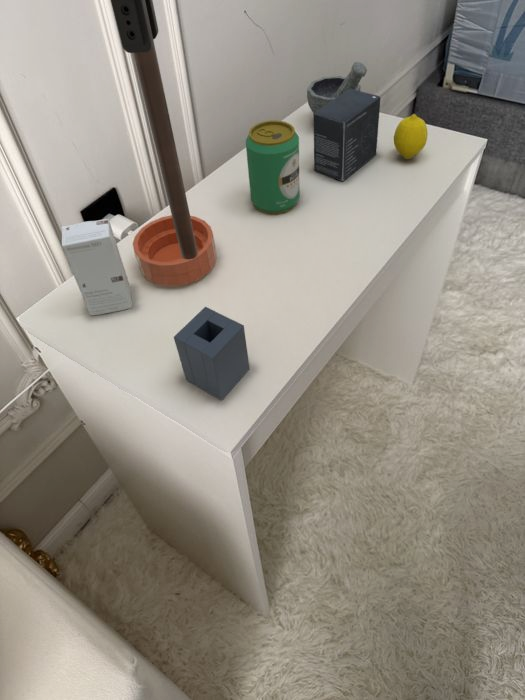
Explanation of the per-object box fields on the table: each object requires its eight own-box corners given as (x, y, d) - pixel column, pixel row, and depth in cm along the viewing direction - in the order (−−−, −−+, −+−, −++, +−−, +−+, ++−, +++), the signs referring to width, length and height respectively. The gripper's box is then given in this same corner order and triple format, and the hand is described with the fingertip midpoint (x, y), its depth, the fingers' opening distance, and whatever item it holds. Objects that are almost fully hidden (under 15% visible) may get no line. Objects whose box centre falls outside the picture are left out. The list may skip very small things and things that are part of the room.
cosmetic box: (90, 317, 72) (58, 247, 62) (89, 295, 75) (59, 225, 65) (135, 308, 72) (109, 237, 63) (132, 286, 75) (108, 216, 66)
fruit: (424, 151, 94) (432, 106, 87) (421, 167, 90) (430, 122, 84) (393, 148, 95) (399, 104, 89) (389, 164, 91) (395, 120, 85)
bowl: (133, 289, 75) (125, 265, 71) (148, 239, 82) (141, 215, 79) (212, 288, 74) (207, 264, 70) (220, 237, 81) (216, 213, 78)
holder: (185, 380, 64) (173, 336, 58) (214, 350, 66) (205, 306, 60) (221, 401, 61) (212, 358, 55) (249, 369, 64) (244, 325, 58)
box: (346, 144, 97) (350, 86, 89) (377, 155, 94) (383, 96, 86) (311, 170, 92) (312, 111, 84) (342, 182, 89) (346, 122, 81)
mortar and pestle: (297, 127, 102) (297, 62, 93) (323, 108, 106) (325, 43, 97) (348, 142, 97) (352, 75, 88) (373, 121, 102) (379, 55, 92)
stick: (180, 260, 56) (109, -29, 36) (182, 249, 57) (115, -36, 38) (196, 259, 56) (134, -30, 36) (198, 248, 57) (140, -38, 37)
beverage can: (280, 221, 83) (277, 150, 74) (241, 205, 86) (233, 136, 77) (309, 196, 87) (309, 126, 78) (270, 182, 90) (266, 113, 81)
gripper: (36, -303, 32) (115, 15, 45) (-66, -311, 23) (70, 86, 37) (155, -317, 31) (201, 10, 45) (97, -331, 23) (175, 81, 36)
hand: (142, 43), depth 41 cm, fingers closed on stick, 2 cm apart
